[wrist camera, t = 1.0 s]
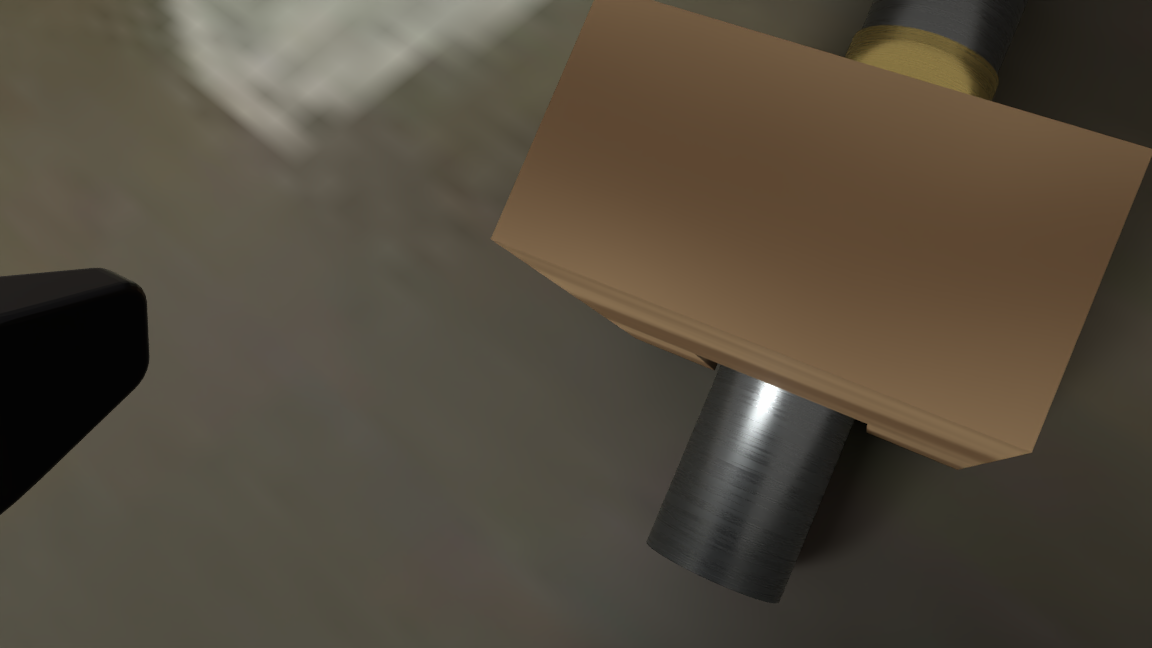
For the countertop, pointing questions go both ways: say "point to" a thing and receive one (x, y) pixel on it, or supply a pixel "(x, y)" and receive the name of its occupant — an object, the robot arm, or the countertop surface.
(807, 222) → the rectangular wooden block
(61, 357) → the robot arm
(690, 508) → the steel pipe
